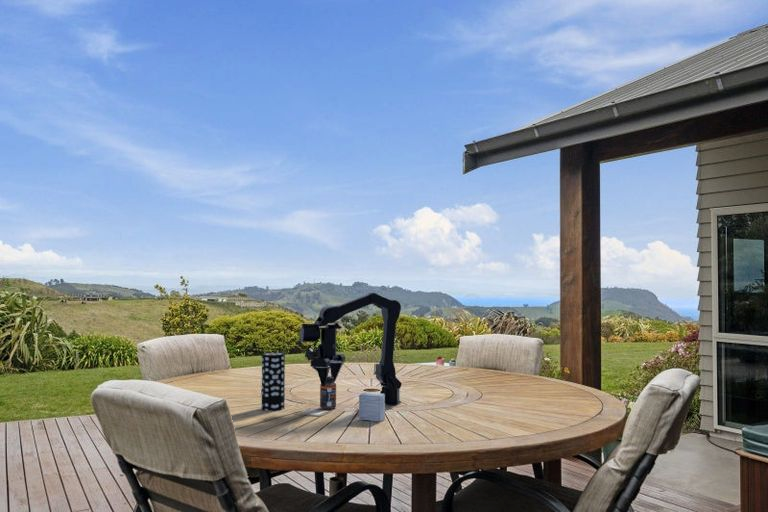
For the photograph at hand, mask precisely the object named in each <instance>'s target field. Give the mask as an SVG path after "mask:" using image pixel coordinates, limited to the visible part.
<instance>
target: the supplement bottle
mask: <svg viewBox="0 0 768 512" xmlns="http://www.w3.org/2000/svg"><path fill="white" fill-rule="evenodd" d="M319 385H320V386H319V390H320V391H319V408H321V409H322V410H332V409H336V407H337V383H336V382H334V377H331V375H330V376H329V375H328V377H327V380H326V384H325V386H322V385H321V383H320V384H319Z"/></svg>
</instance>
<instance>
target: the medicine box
mask: <svg viewBox="0 0 768 512" xmlns="http://www.w3.org/2000/svg"><path fill="white" fill-rule="evenodd" d="M385 405H386V404H385V394H380V393H379V392H378V393H376V392H375V393H374V392H372V393H371V392H362V393H360V394H358V407H359V408H358V413H359V414H358V416H359V418H358V421H363V420H370V421H369V422H378V421H379V422H383V421H384V420H386V407H385Z"/></svg>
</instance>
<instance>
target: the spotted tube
mask: <svg viewBox="0 0 768 512" xmlns="http://www.w3.org/2000/svg"><path fill="white" fill-rule="evenodd" d="M285 361H286V353H285V352H266V353H261V411H266V412H267V411H268V412H276V411H277V410H278V411H283V410H285V407H286V406H285V403H286V402H285V396H286V395H285V393H286V392H285V391H286V389H285V386H286V385H285V383H286V382H285V381H286V380H285V379H286V375H285V374H286V362H285ZM282 409H283V410H282Z"/></svg>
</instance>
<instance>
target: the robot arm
mask: <svg viewBox="0 0 768 512" xmlns="http://www.w3.org/2000/svg"><path fill="white" fill-rule="evenodd" d="M369 305H370V306H371V305H373V306H375V307H377V308H379V309H380V310H381V317H382V320H383V332H382V333H383V334H382V341H381V342H382V344H381V354H380V355H381V358H380V360H379V363H375V365H374V367H375V371H374V373H373V374H374V375H375V377H376V378H375V379H376V380H377V381H378V382H379V383H380V386H381V391H380V392H379V394H385V405H387V406H388V405H389V406H397V405H399V404H401V402H402V401H401V400H400V389H401V387H402V384H403V383H402V381H400V380H399V379H398V378H397V377H396V367H395V363H394V351H395V349H394V348H395V340H396V339H395V338H396V327H397V326H396V325H397V322H398V320H399V319H400V318H399V317H400V315H401V311H402V305H401V303H400V302H399V301H398V300H396V299H389V298H387V297H384V296H382V295H380V294H378V293H376V292H369V293H367V294H365V295H362V296H360V297H357V298H355V299H351V300H349V301H347V302H343V303H342V304H337V305H330V306H325V307H323V308H321V309H320V311H319V315H318V317H317V318H316V320H315V321H314V322H313V323H301V327H300V331H299V338H300V342H301V343H316V342H318V340H320V343H318V345H317V348H315V349H312V348H311V347H310V348H307V349H305V353H304V357H305V358H306V359H307V361H308V362H309V361H310V367H311V368H312V369H313V370H315V371H316V372H317V374H318V377H319V381H320V384H321V385H322V386H325V384H326V380H327V377H328V376H329V373H330V376H331V377H334V383H336V380H337V378H338V376H339V373H340V371H341V370H342V369H341V368H342V367H343V365H344V364H345V362H346V356H345V354H344V353H337V347H339V343H337V330H341V329H342V326H341V325H340V324H339V323H338V322H337V321H339V320H340V319H342V318H343V317H344V316H346V315H347V314H350V313H353V312H355V311H357V310H359V309H360V310H361V309H362V308H366V307H367V306H369Z"/></svg>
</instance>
